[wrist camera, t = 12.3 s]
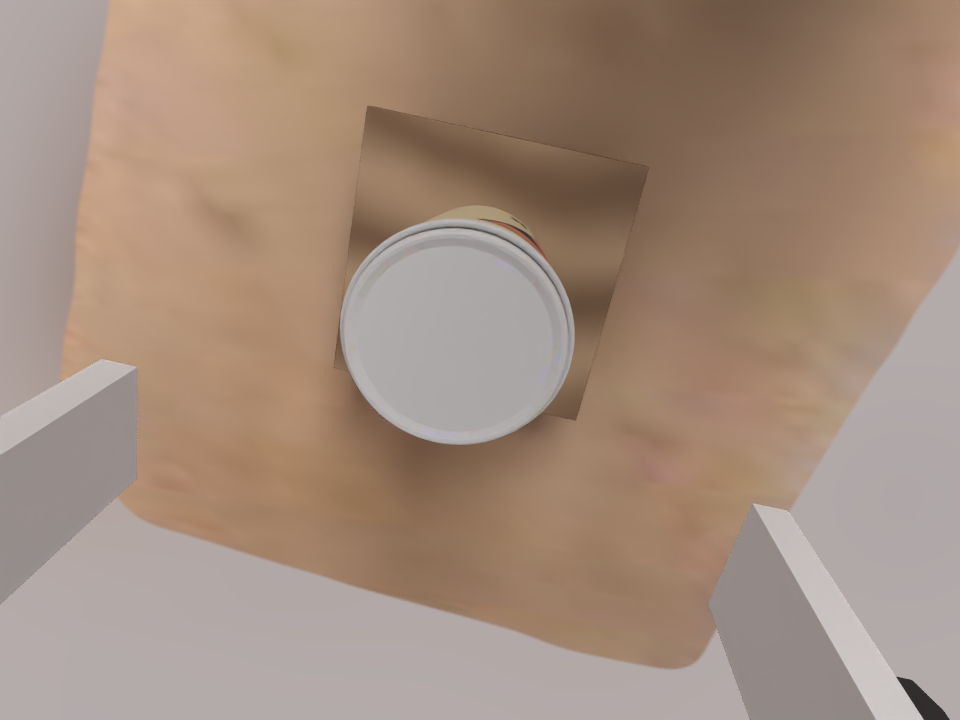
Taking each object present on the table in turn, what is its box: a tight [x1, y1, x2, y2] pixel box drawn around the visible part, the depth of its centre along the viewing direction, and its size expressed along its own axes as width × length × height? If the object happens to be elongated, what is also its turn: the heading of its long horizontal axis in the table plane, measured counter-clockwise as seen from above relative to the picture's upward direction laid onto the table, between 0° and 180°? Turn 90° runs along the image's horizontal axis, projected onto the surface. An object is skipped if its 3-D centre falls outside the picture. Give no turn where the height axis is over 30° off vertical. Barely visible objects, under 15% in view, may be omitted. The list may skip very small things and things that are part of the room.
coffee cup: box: [340, 205, 575, 445], centre depth 30 cm, size 9×9×12 cm
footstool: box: [334, 106, 649, 420], centre depth 38 cm, size 15×15×6 cm
